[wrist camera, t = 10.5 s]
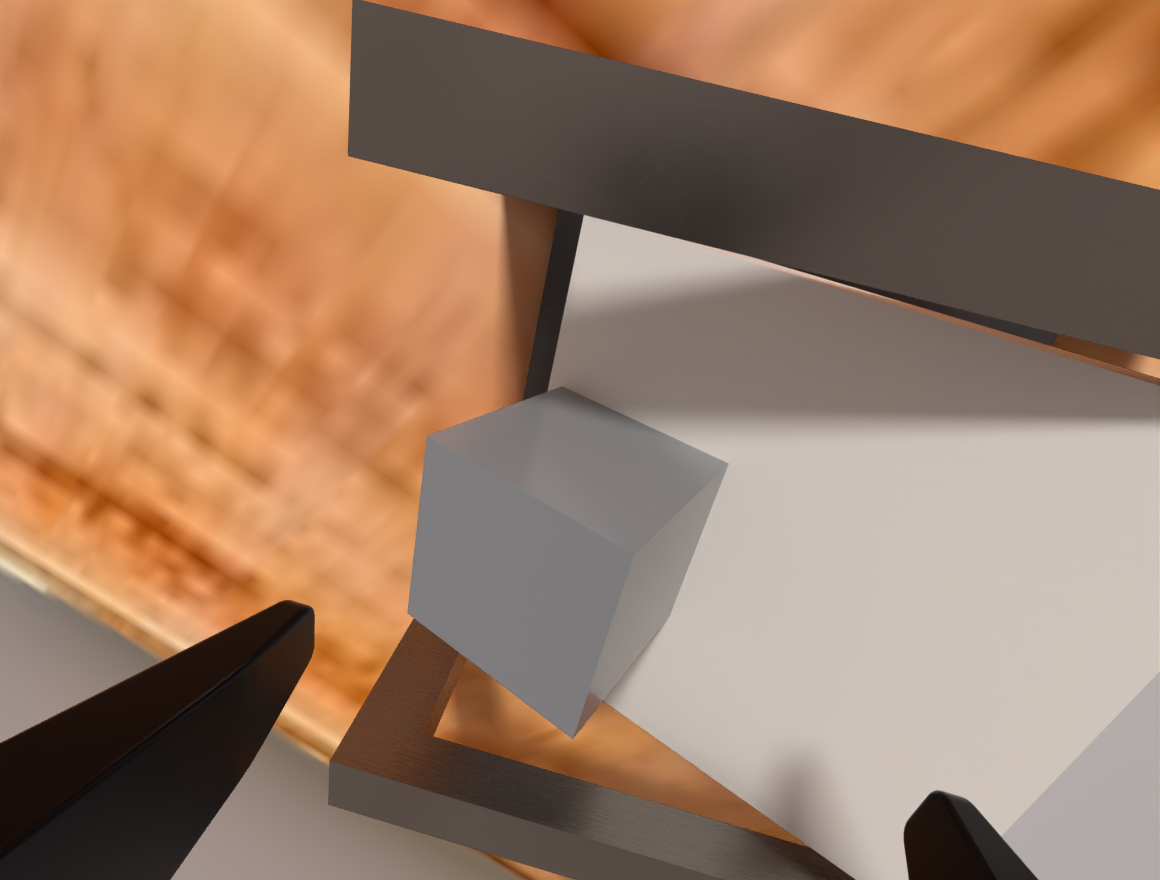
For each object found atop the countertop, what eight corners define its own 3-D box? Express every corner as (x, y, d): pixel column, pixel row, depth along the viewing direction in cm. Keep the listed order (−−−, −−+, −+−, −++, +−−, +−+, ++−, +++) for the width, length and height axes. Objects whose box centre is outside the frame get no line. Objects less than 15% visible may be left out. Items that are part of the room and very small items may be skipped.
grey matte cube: (729, 463, 14) (634, 554, 10) (669, 615, 16) (572, 739, 12) (561, 386, 16) (427, 436, 12) (530, 530, 18) (407, 613, 14)
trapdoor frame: (1186, 244, 15) (1724, 324, 7) (864, 724, 23) (954, 994, 16) (512, 81, 16) (352, -2, 8) (439, 603, 24) (328, 804, 16)
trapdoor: (1515, 460, 11) (1838, 589, 7) (1070, 863, 17) (1103, 1055, 13) (668, 217, 18) (584, 212, 14) (575, 563, 24) (498, 626, 20)
